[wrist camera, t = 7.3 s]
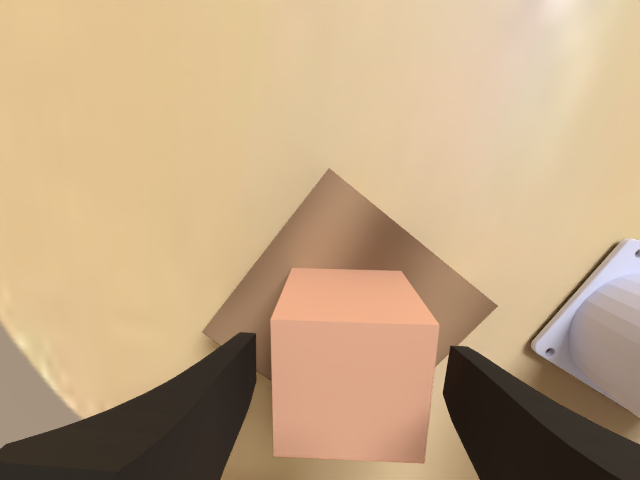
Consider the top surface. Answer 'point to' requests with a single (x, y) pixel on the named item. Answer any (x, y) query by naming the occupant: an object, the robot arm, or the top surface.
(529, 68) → the top surface
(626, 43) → the top surface
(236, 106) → the top surface
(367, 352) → the terracotta cube
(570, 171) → the top surface
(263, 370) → the walnut block
